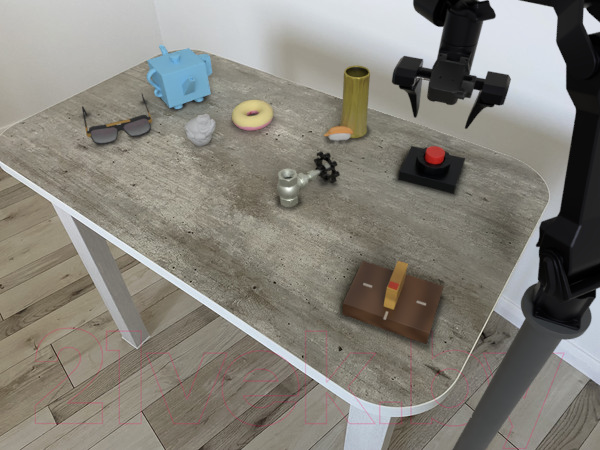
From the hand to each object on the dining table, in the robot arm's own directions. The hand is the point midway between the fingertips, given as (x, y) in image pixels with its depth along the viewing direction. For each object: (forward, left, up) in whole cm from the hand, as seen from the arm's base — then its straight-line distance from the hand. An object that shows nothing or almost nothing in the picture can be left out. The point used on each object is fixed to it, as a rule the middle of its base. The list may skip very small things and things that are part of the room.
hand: (440, 122), depth 88 cm
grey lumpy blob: (+48, +8, -13) cm, 50 cm away
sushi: (+21, -5, -13) cm, 25 cm away
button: (0, -1, -9) cm, 9 cm away
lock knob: (-2, +33, -9) cm, 35 cm away
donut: (+42, -4, -13) cm, 44 cm away
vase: (+19, -9, -13) cm, 24 cm away
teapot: (+63, -7, -13) cm, 64 cm away
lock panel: (-2, +33, -12) cm, 36 cm away
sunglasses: (+70, +9, -13) cm, 72 cm away
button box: (0, -1, -12) cm, 12 cm away
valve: (+21, +14, -13) cm, 28 cm away
